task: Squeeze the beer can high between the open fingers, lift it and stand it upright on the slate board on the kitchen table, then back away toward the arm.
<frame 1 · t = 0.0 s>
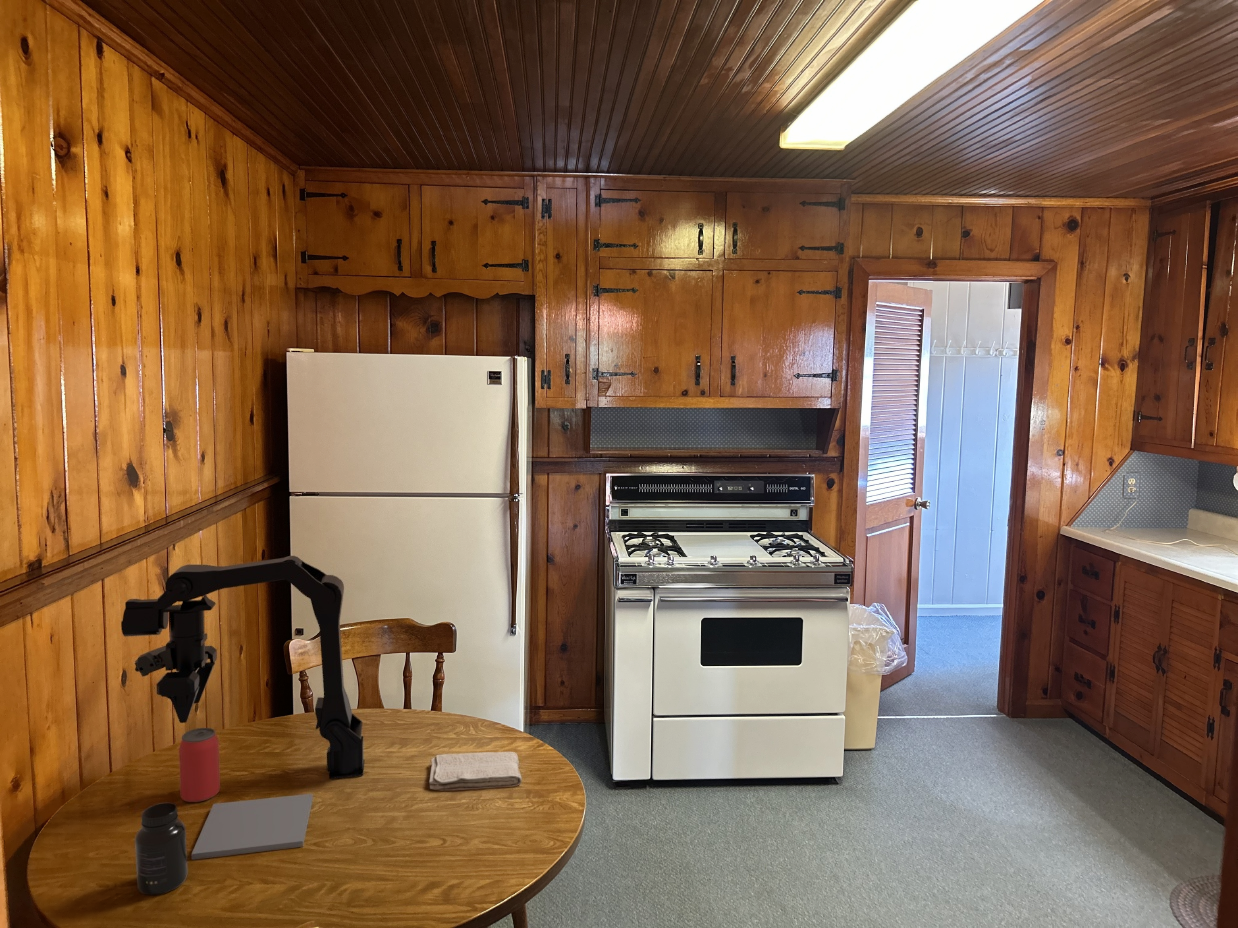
hand: (189, 712, 153), 15 cm above the table, fingers open, 9 cm apart
slate board: (256, 826, 141), on the table
supplement bottle: (162, 883, 125), on the table
washcloth: (475, 777, 162), on the table
beer can: (200, 795, 151), on the table
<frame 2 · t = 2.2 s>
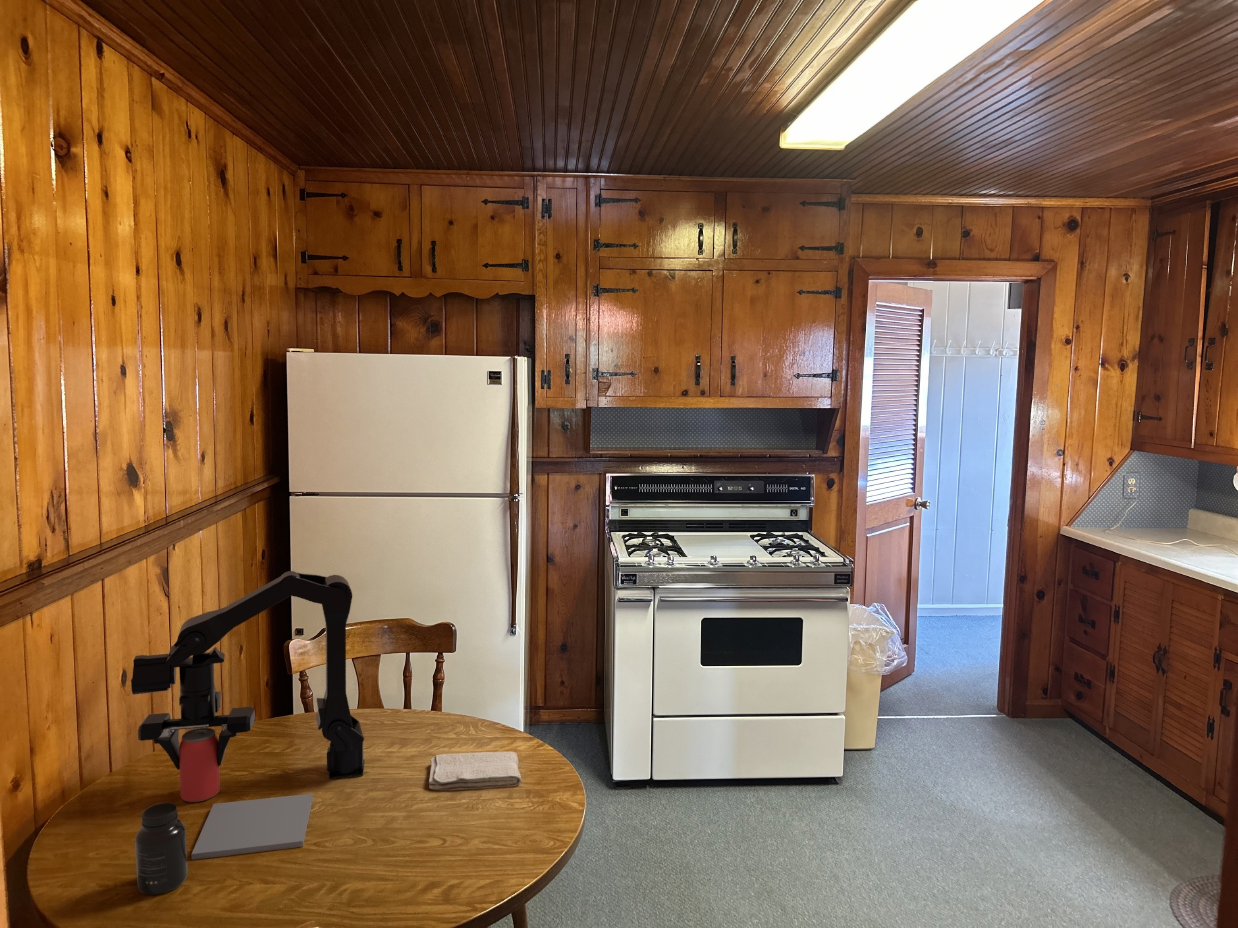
hand: (199, 766, 151), 6 cm above the table, fingers closed on beer can, 7 cm apart
beer can: (200, 795, 151), on the table, touching gripper
everything else where it was.
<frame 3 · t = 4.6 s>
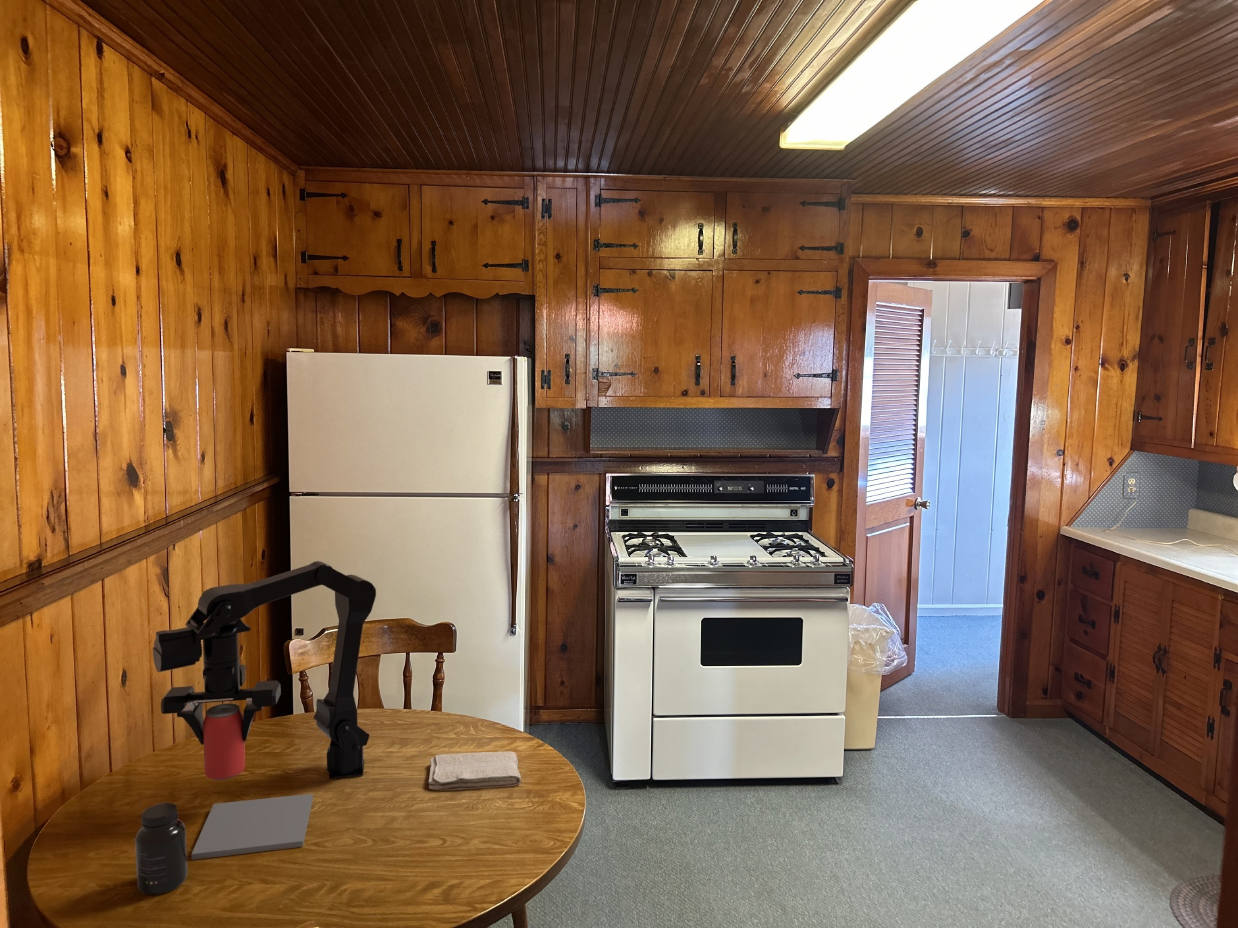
hand: (224, 741, 145), 13 cm above the table, fingers closed on beer can, 7 cm apart
beer can: (225, 773, 146), point 7 cm above the table, touching gripper
everything else where it was.
when the fingers open (7 cm above the table, at t = 7.3 s): beer can stays where it is, resting on slate board.
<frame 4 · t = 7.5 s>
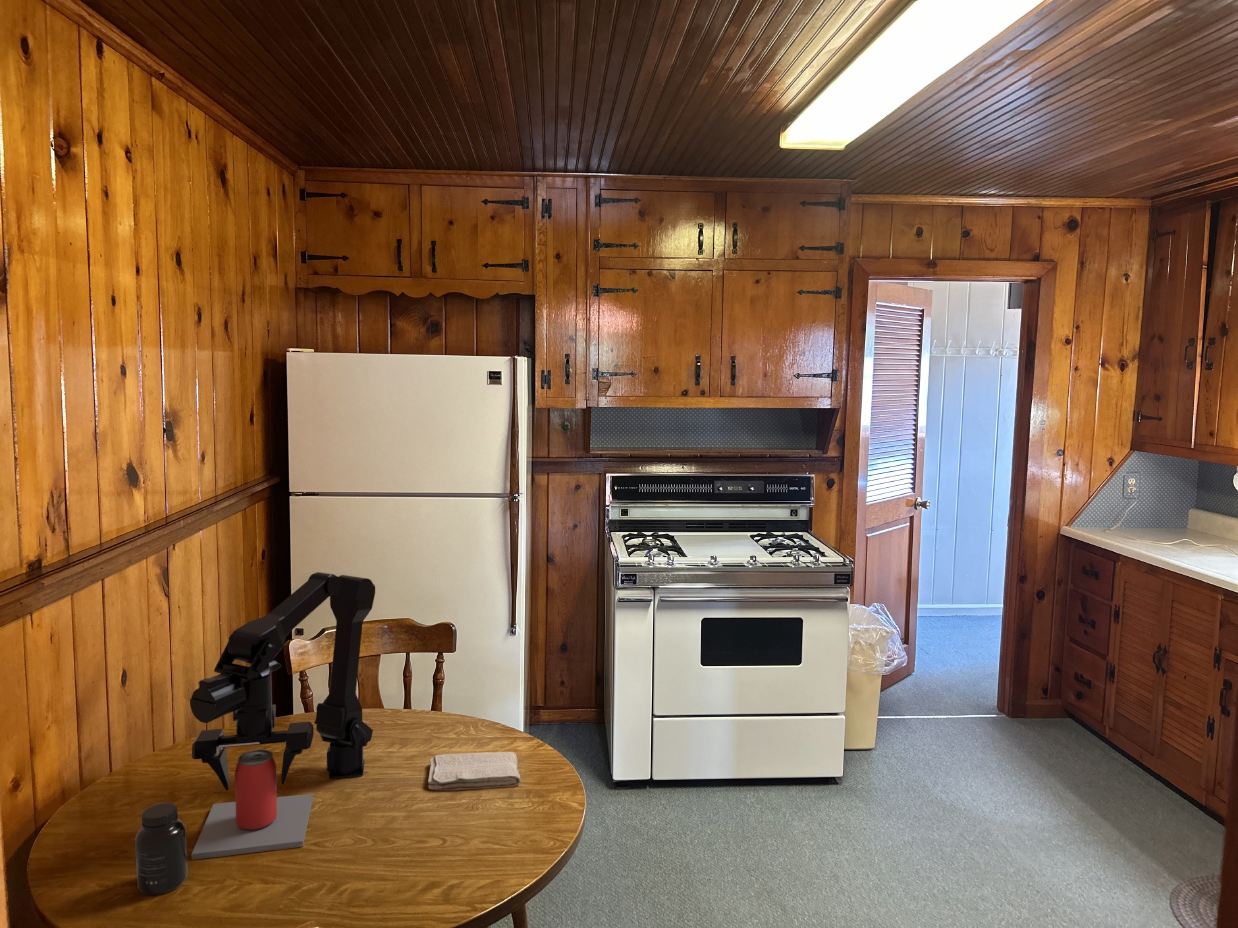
hand: (255, 786, 140), 7 cm above the table, fingers open, 9 cm apart
beer can: (256, 822, 141), point 1 cm above the table, touching slate board
everything else where it was.
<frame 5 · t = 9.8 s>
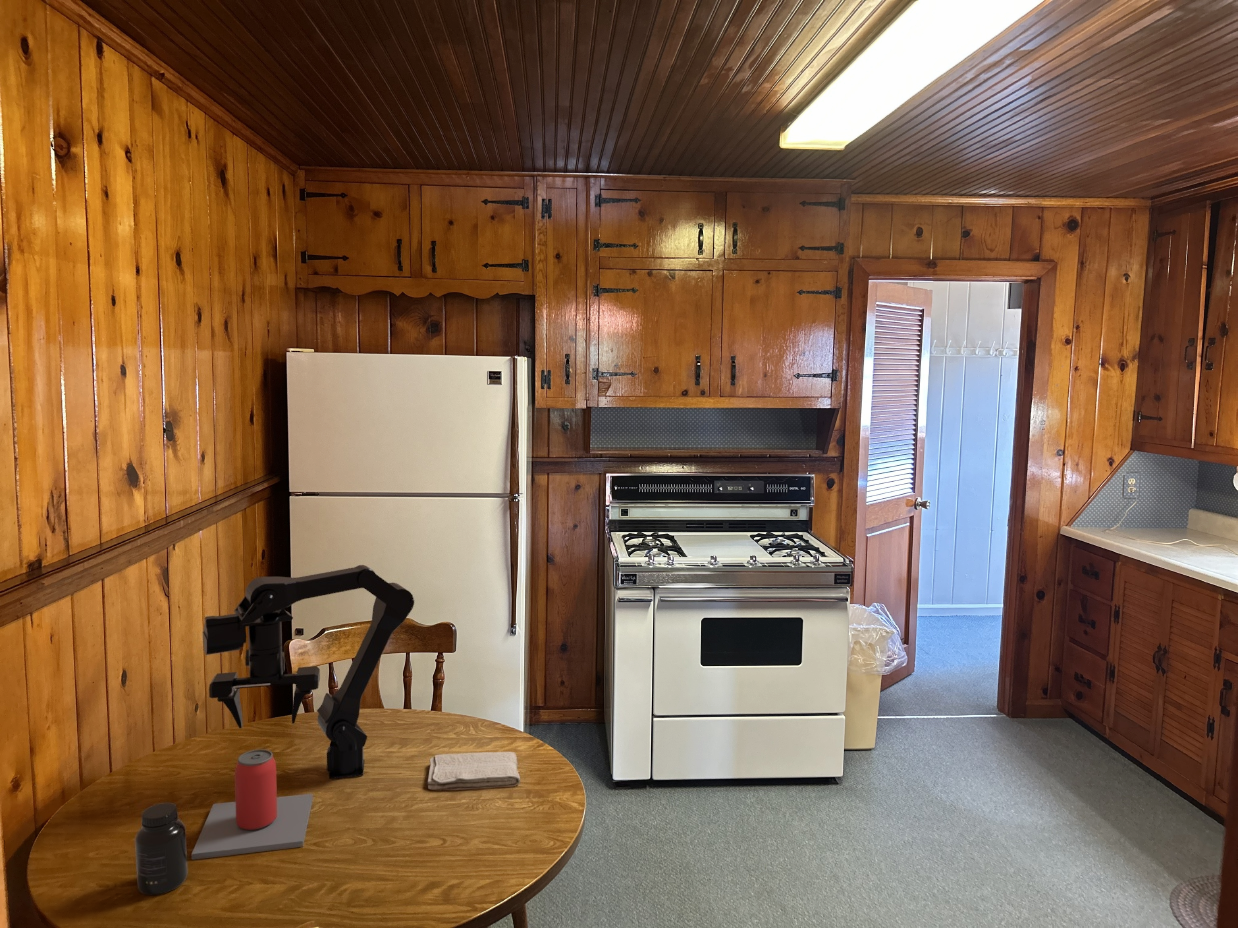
hand: (267, 724, 152), 13 cm above the table, fingers open, 9 cm apart
nothing on the table moved.
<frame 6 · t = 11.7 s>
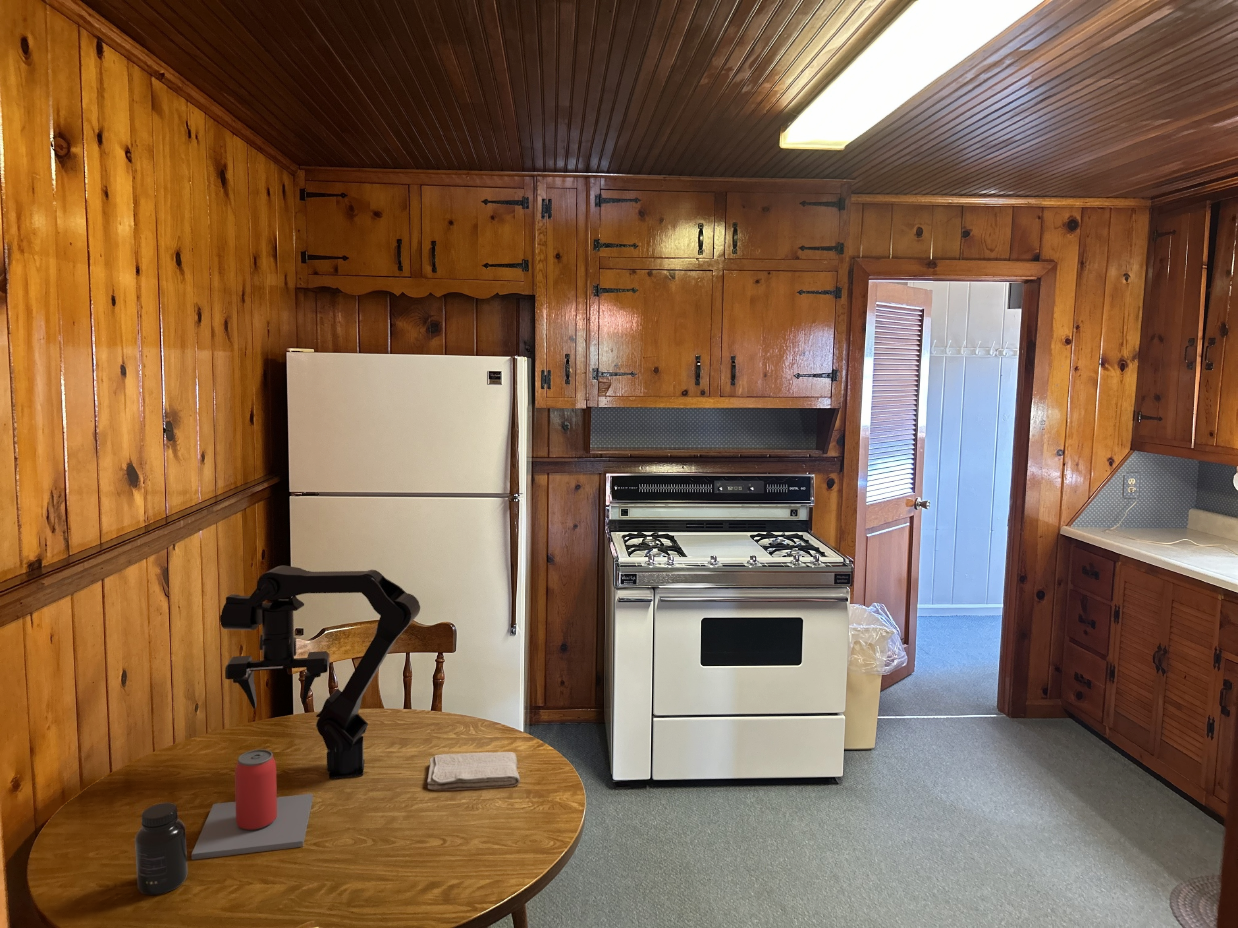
hand: (279, 705, 161), 13 cm above the table, fingers open, 9 cm apart
nothing on the table moved.
at the end: beer can inside the target area on the slate board (0.1 cm from its centre), point 0.8 cm above the slate board's base; beer can tilted 0°; the gripper is holding nothing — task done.
